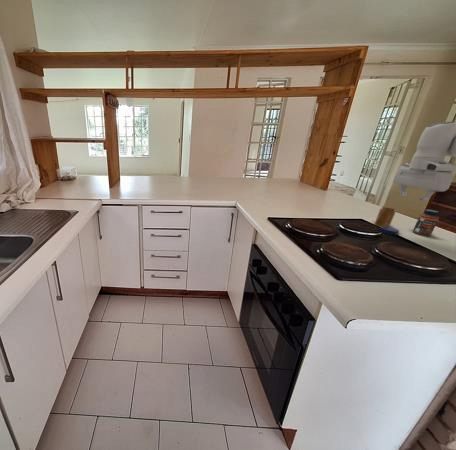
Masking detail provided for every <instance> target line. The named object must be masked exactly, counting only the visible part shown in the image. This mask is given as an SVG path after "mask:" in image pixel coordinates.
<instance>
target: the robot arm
mask: <svg viewBox="0 0 456 450" xmlns="http://www.w3.org/2000/svg"><path fill="white" fill-rule="evenodd" d="M446 157H449V158H456V121H451V120H450V121H444V122H443V121H441V122H436V123H431V124H429V125H427V126H426V127H425V128H424V130H423V131H422V132H421V135H420V137H419V140H418V142H417V145H416V151H415V152H414V154H413V156H412V158H411V160H410V163H408V162H406V163H403V164H401V165H400V166H399V168H398V169H397V171H396V173H395V175H394V176H393V178H392V183H393V184H394V185H399V186H398V190H399V193H398V195H399V196H401V197H406V196H407V195H408V191H407V188H408V187H410V188H417V189H420V190H421V189H422V190H425V193H424V195H421V196H420V198H419V200H420V201H423V202H427V201H429V199H430V197H432V196H433V195H434V194H435V193H436V192H446V191H448V190H449V188H450V186H452V185H451V184H452V182H453V179H454V173H453V172H456V165H454V164H452V163H450V162H447V161H445V159H446Z"/></svg>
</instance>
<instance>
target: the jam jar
mask: <svg viewBox="0 0 456 450" xmlns="http://www.w3.org/2000/svg"><path fill="white" fill-rule="evenodd" d="M396 212H397V211H396V207H395V206H391V205H390V206H388V205H382V206H381V208H379V210H378V213H377V216H376V218H375V221H374V225H375V226H377V227H380V228H381V227H389V228H391V225H392V222H393V220H394V218H395V215H396Z"/></svg>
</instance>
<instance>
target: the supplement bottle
mask: <svg viewBox="0 0 456 450" xmlns="http://www.w3.org/2000/svg"><path fill="white" fill-rule="evenodd" d="M438 215H439V211H438V210H434V209H425V211H424V212H422V213H421V214H420V215H419V217H418V219H417V220H416V223H415V224H414V226H413V230H412V233H414V234H416V235H420V236H424V237H425V236H426V237H429V236H431V235H432V234H433V232H434V230H435V228H436V226H437V224H438V222H439V219H440V217H439V216H438Z"/></svg>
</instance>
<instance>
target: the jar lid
mask: <svg viewBox="0 0 456 450" xmlns="http://www.w3.org/2000/svg"><path fill="white" fill-rule="evenodd" d="M379 232H380V233H382V234H384V235H389V236H398V235H399V233H400V230H399V229H397V228H395V227H381V226H380V230H379Z"/></svg>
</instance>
